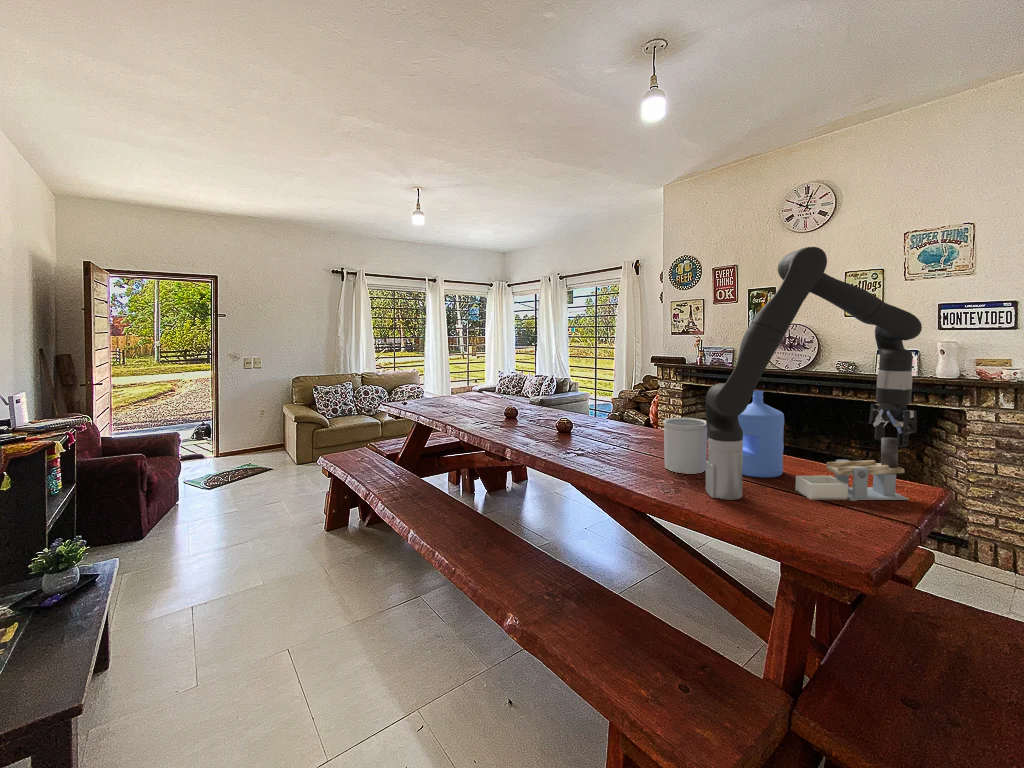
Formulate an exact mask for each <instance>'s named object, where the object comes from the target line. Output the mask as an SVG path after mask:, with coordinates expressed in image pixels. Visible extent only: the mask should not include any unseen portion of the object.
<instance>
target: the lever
mask: <svg viewBox="0 0 1024 768" xmlns="http://www.w3.org/2000/svg"><path fill="white" fill-rule="evenodd" d="M880 441H881V442H880V443H881V444H880V455H881V456H880V458H881V459H880V462H879V463H878V462H876V460H874V459H871V460H849V461H842V462H836V461H826V463H825V464H826V466H825V467H826V468H825V469H826V470H827V471H829V472H831V473H833V474H834V475H835V474H837V475H839V476H842V475H849V476H853V469H854V467H866V468H868V475H873V474H892V473H895V474H905V468H903V467H901V466H899V464H898V462H899V447H898V446H897V437H889V436H887V437H886V436H885V437H883V438H881V440H880Z"/></svg>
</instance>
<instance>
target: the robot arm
mask: <svg viewBox="0 0 1024 768" xmlns="http://www.w3.org/2000/svg"><path fill="white" fill-rule="evenodd" d="M827 265H828V257H827V254H826V252H825V251H824V250H823V249H822V248H820V247H817V246H808V247H807V246H806V247H803V248H800V249H797V250H795V251H791V252H789V253H788V254H786V255H785V256H783V257H782V258H781V259H780V260H779V262H778V265H777V272H778V275H779V277H780V278H781V280H783V281H782V282H781V285H780V287H778V289H777V291H776V292H775V294H774V295H773V296H772V297H771V298H770V299H769V300H768V302H766V303H765V305H763V307H761V309H760V310H759V311H758V312H757V314H756V315H755V316H754V318H753V319H752V320H751V322H750V324H749V325H748V326H747V330H746V331H745V333H744V335H743V336H742V339H741V342H740V346H739V350H738V351H739V353H738V356H737V361H736V364H735V366H734V369H733V371H732V372H731V374H730V376H729V377H728V379H727V380H726V382H725V383H724V382H722V383H721V382H719V383H717V384H714V385H713V386H711V387H709V388H708V391H707V393H706V395H705V421H706V426H707V460H706V470H705V488H704V489H705V490H706V491H705V492H706V493H707V494H708V495H709V496H710V497H711V498H712V499H719V498H720V500H728V501H731V500H732V501H734V500H740V499H741V498H742V497H743V475H742V468H743V430H742V428H741V426H740V424H739V421H738V415H740V414H741V413H743V412H744V410H745V409H746V408H747V406H748V405H749V404H750V401H751V399H752V398H753V392H754V391H756V388H757V385H758V383H759V380H760V379H761V376H762V374H763V373H764V371H765V370H766V369H767V366H768V365H769V363H770V361H771V359H772V358H773V356H774V354H775V353H776V352H777V350H778V348H779V347H780V345H781V342H782V341H783V340H784V338H785V335H786V333H788V330H789V328H790V326H791V325H792V323H793V321H794V320H795V317H796V316H797V313H798V312H799V310H800V308H801V307H802V305H803V303H804V302H805V300H806V298H807V296H809V294H810V293H811V294H813V295H815V296H817V297H819V298H821V299H823V300H825V301H827V302H829V303H831V304H832V305H834V306H836V307H838V308H839V309H841V310H842V311H844V312H845V313H846V314H848V315H850V316H852V317H853V318H855V319H856V320H858V321H860V322H861V323H864V324H866V325H872V326H875V327H874V328H875V329H874V337H875V343H876V347H877V350H878V354H879V361H878V373H877V379H876V391H875V394H876V395H875V401H876V403H871V404H870V409H869V410H870V412H869V419H868V422H869V424H872V425H873V427H874V439H875V440H876V441H881V438H883V437H886V436H885V435H886V427H885V426H887V424H888V423H890V424H892V426H893V427H895V428H896V430H897V436H896V438H897V446H898V448H907V447H908V445H909V436H910V434H912V433H913V434H914V433H917V428H918V427H917V426H918V425H917V421H918V413H917V410H910V409H909V410H908V407H907V406H909V405H910V404H911V403H912V394H913V393H912V391H913V360H914V359H913V357H914V356H913V353H912V351H911V350H909V349H906V348H905V347H904V343H903V341H910V340H913V339H915V338H917V337H918V336H919V335H920V334H921V332H922V329H923V327H922V325H923V324H922V322H921V320H920V319H919V318H918V317H917V316H916V315H914V314H913V313H911V312H909V311H907V310H904V309H902V308H899V307H898V306H895V305H891V304H890V303H887V302H885V301H883V300H882V299H881V298H879V297H877V296H875V295H874V294H873V293H871V292H869V291H868V290H867V289H863V288H862V287H859V286H857V285H854V284H851V283H848V282H846V281H842V280H841V279H837V278H835V277H832V276H831V275H828V274H827V273H825V271H826V268H827ZM910 425H911V426H910Z"/></svg>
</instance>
